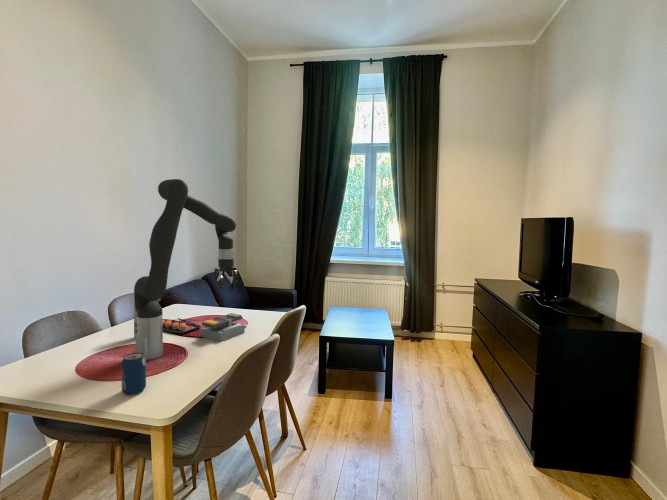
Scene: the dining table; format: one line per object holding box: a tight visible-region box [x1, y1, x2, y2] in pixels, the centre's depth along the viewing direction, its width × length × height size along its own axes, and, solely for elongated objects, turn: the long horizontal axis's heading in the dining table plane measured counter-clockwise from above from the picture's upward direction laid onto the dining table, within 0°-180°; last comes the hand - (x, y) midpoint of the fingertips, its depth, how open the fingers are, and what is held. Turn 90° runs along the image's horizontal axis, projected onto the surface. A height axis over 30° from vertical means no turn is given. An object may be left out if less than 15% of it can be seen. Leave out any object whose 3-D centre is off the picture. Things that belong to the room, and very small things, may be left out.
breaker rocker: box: [201, 312, 243, 328], centre depth 172 cm, size 19×8×2 cm, turn 152°
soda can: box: [120, 352, 147, 396], centre depth 113 cm, size 7×7×12 cm
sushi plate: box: [162, 317, 202, 334], centre depth 188 cm, size 29×30×4 cm
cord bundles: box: [204, 323, 241, 332], centre depth 172 cm, size 12×13×1 cm
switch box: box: [199, 316, 246, 342], centre depth 172 cm, size 16×14×8 cm
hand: (226, 289), depth 174 cm, fingers open, 8 cm apart
